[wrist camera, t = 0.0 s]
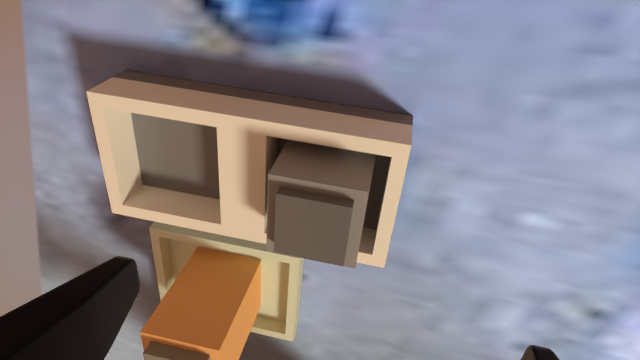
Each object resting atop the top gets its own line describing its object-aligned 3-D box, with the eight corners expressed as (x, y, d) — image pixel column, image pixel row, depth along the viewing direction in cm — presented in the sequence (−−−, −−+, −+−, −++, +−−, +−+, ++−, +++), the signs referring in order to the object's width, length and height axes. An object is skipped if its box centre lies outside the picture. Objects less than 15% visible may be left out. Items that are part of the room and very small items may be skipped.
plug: (260, 306, 31) (216, 412, 25) (201, 293, 32) (143, 393, 25) (261, 259, 29) (213, 363, 22) (197, 246, 30) (131, 344, 23)
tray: (298, 323, 33) (293, 341, 31) (172, 295, 34) (162, 311, 32) (305, 241, 28) (299, 258, 27) (161, 213, 30) (148, 227, 28)
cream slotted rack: (388, 229, 26) (379, 305, 21) (143, 182, 28) (81, 242, 23) (412, 115, 22) (409, 175, 17) (125, 70, 24) (46, 112, 19)
